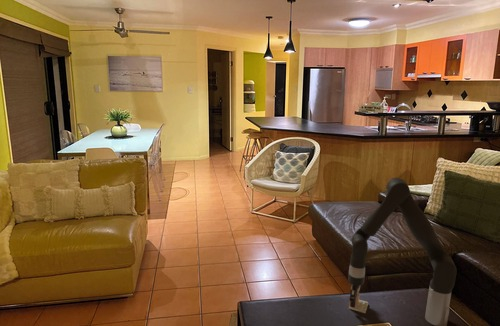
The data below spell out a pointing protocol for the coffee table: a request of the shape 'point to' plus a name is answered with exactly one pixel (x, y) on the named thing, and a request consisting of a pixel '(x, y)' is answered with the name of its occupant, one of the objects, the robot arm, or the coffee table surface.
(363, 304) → the stud plate
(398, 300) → the coffee table surface
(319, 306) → the coffee table surface
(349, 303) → the brick stack
